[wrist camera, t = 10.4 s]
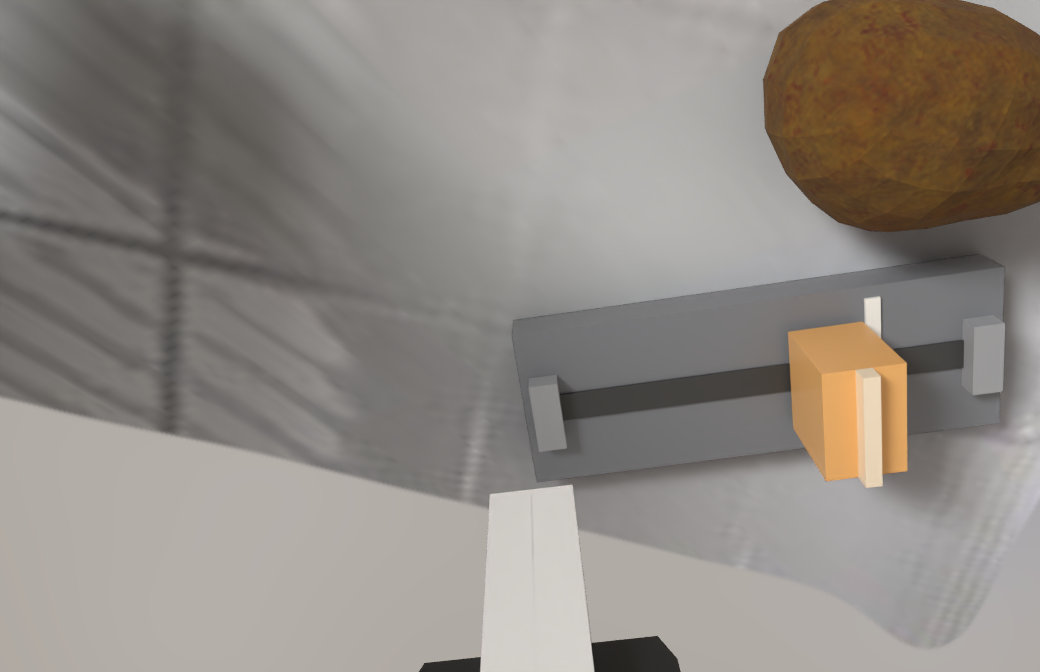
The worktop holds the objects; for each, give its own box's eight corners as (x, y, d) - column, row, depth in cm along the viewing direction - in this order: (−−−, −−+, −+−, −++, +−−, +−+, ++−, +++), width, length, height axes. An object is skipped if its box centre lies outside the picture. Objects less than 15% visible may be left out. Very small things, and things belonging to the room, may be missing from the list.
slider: (793, 428, 37) (832, 492, 32) (787, 331, 35) (828, 383, 31) (864, 418, 37) (916, 481, 32) (862, 321, 35) (915, 371, 30)
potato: (960, 259, 37) (1080, 328, 29) (702, 161, 36) (751, 204, 28) (1070, 63, 34) (1238, 78, 26) (794, -50, 33) (878, -72, 25)
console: (536, 460, 41) (536, 493, 38) (513, 320, 38) (511, 344, 35) (977, 403, 39) (1011, 433, 36) (980, 254, 37) (1017, 273, 34)
